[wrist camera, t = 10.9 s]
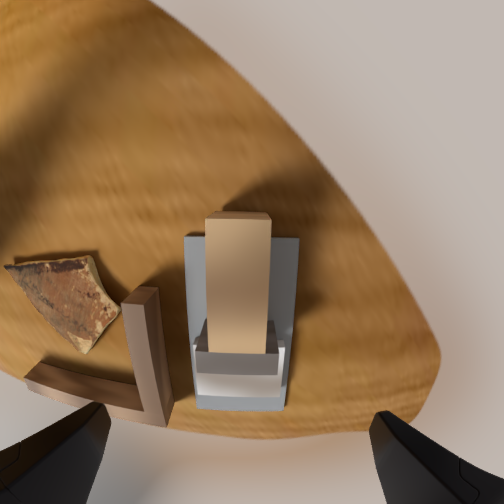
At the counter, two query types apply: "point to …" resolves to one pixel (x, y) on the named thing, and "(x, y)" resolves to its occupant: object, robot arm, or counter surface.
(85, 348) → the shard
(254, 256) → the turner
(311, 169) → the counter surface
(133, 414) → the corner fence
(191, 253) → the mat
